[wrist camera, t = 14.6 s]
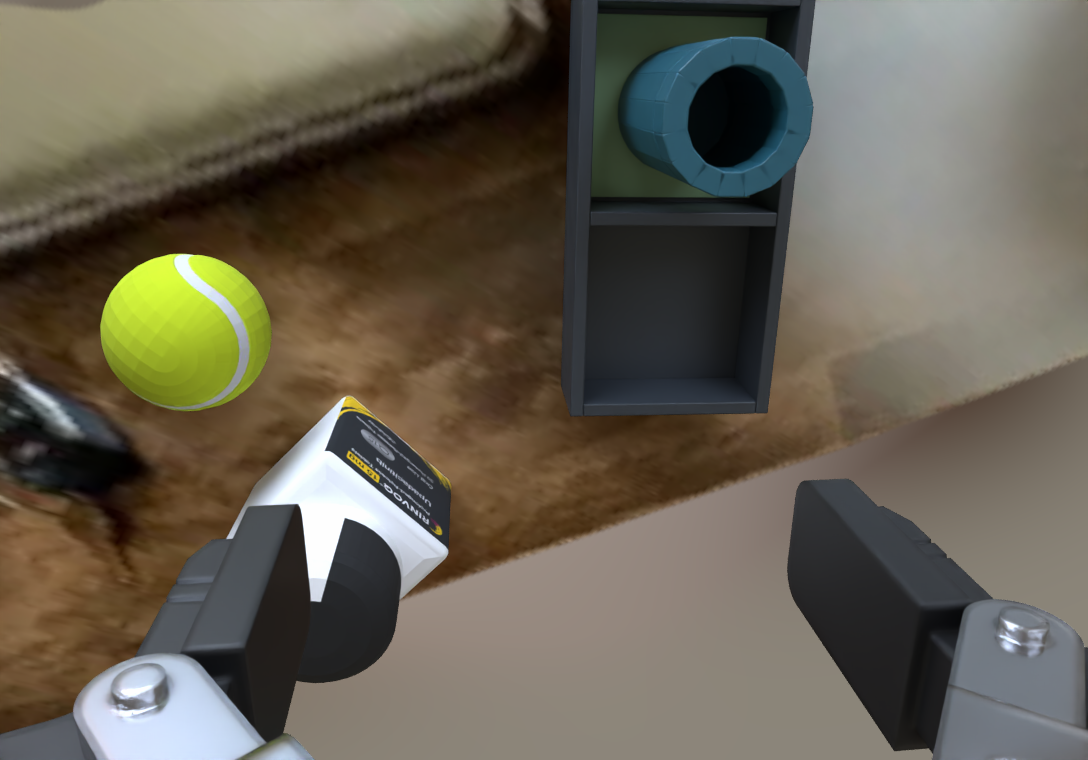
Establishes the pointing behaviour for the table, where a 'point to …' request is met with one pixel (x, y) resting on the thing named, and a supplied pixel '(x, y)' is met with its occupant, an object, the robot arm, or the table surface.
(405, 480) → the medicine bottle
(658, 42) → the divided tray
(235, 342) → the tennis ball
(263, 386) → the table surface
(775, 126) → the jar
